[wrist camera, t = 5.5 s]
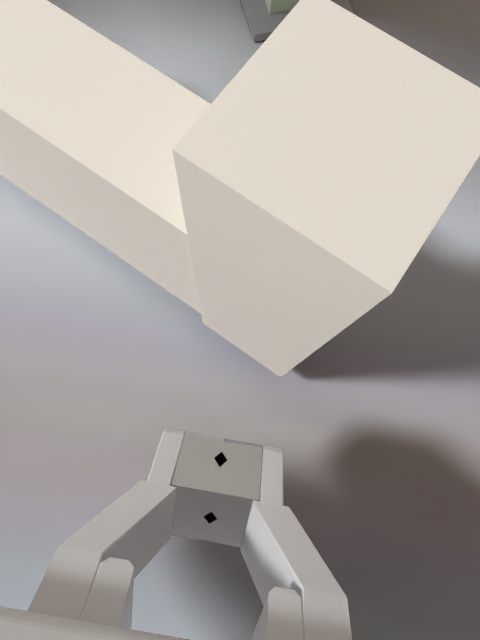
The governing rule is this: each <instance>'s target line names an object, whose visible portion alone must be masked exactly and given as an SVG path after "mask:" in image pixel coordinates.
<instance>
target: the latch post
mask: <svg viewBox="0 0 480 640" xmlns="http://www.w3.org/2000/svg"><path fill="white" fill-rule="evenodd" d="M240 1H241V4H242V7H243V10H244V13H245V16H246V19H247V22H248V25H249V28H250V31H251V34H252V37H253V40H254V42H258V41H263V40H266V39H267V38H268V37H269V36H270V35H271V34H272V32H273V31H274V30H275V29H276V28H277V27H278V25H279V24H280V23H281V22H282V21H283V20H284V18H285V17H286V16H287V15H288V14H289V13H290V11H291V10H292V9H293V8H294V7H295V6H296V4H297V3H298V2H299V1H300V0H240ZM331 1H332V2H334V3H336V4H337V5H339V6H341V7H343V8H344V9H346V10H348V11H349V12H351V13H353V14H354V15H355V13H354V11H353V8H352V6H351V3H350V1H349V0H331Z"/></svg>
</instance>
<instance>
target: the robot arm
mask: <svg viewBox="0 0 480 640" xmlns="http://www.w3.org/2000/svg"><path fill="white" fill-rule="evenodd" d="M171 535H172V536H179V537H185V538H192V539H199V540H206V541H210V542H215V543H220V544H225V545H230V546H235V547H239V548H240V550H241V553H242V555H243V558H244V560H245V563H246V565H247V567H248V570H249V572H250V575H251V577H252V579H253V582H254V584H255V587H256V589H257V592H258V594H259V596H260V599H261V601H262V604H263V606H264V607H263V610H262V612H261V615H260V618H259V620H258V623H257V625H256V628H255V631H254V633H253V636H252V639H251V640H352V634H351V626H350V617H349V609H348V600H347V597H346V595H345V594H344V592H343V590H342V589H341V587H340V586H339V584H338V583H337V581H336V579H335V578H334V576H333V575H332V573H331V572H330V570H329V568H328V567H327V565H326V564H325V562H324V560H323V559H322V557H321V556H320V554H319V553H318V551H317V549H316V548H315V546H314V545H313V543H312V542H311V540H310V538H309V537H308V535H307V534H306V532H305V531H304V529H303V527H302V526H301V524H300V523H299V521H298V520H297V518H296V516H295V515H294V513H293V512H292V510H291V509H290V507H287V506H284V497H283V450H282V449H281V448H276V447H270V446H264V445H263V446H262V445H259V444H253V443H247V442H241V441H235V440H229V439H221V438H216V437H211V436H206V435H201V434H196V433H191V432H187V431H186V432H185V431H180V430H175V429H170V428H165V430H164V432H163V434H162V437H161V440H160V443H159V446H158V449H157V452H156V455H155V458H154V461H153V464H152V467H151V470H150V473H149V476H148V479H147V481H140V482H138V483H137V484H136V485H135V486H133V487H132V488H131V489H129V490H128V491H127V492H126V493H124V494H123V495H122V496H121V497H119V498H118V499H117V500H116V501H114V502H113V503H112V504H111V505H109V506H108V507H107V508H106V509H104V510H103V511H102V512H100V513H99V514H98V515H97V516H95V517H94V518H93V519H92V520H90V521H89V522H88V523H87V524H85V525H84V526H83V527H82V528H80V529H79V530H78V531H77V532H75V533H74V534H73V535H71V536H70V537H69V538H68V539H66V540H65V541H64V542H63V543H61V544H60V545H59V546H58V548H57V550H56V552H55V554H54V556H53V559H52V561H51V563H50V565H49V567H48V569H47V571H46V573H45V575H44V578H43V580H42V582H41V584H40V586H39V588H38V590H37V592H36V594H35V597H34V599H33V601H32V603H31V605H30V607H29V609H28V611H24V610H18V609H13V608H7V607H1V606H0V640H188V639H183V638H177V637H171V636H166V635H160V634H154V633H149V632H143V631H137V630H132V629H131V622H132V602H133V583H134V578H135V577H136V576H137V575H138V574H139V573H140V572H141V571H142V569H143V568H144V567H145V566H146V565H147V564H148V563H149V562H150V560H151V559H152V558H153V557H154V556H155V555H156V554H157V553H158V552H159V550H160V549H161V548H162V547H163V546H164V545H165V544H166V543H167V541H168V540H169V539H170V538H171Z"/></svg>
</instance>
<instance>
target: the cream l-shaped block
mask: <svg viewBox="0 0 480 640" xmlns="http://www.w3.org/2000/svg"><path fill="white" fill-rule="evenodd" d="M479 155H480V88H479V87H477V86H476V85H474V84H472V83H471V82H469V81H467V80H466V79H464V78H462V77H460V76H459V75H457V74H455V73H454V72H452V71H450V70H448V69H447V68H445V67H443V66H442V65H440V64H438V63H436V62H435V61H433V60H431V59H430V58H428V57H426V56H425V55H423V54H421V53H419V52H418V51H416V50H414V49H413V48H411V47H409V46H407V45H406V44H404V43H402V42H401V41H399V40H397V39H395V38H394V37H392V36H390V35H389V34H387V33H385V32H384V31H382V30H380V29H378V28H377V27H375V26H373V25H372V24H370V23H368V22H366V21H365V20H363V19H361V18H360V17H358V16H356V15H354V14H353V13H351V12H349V11H348V10H346V9H344V8H343V7H341V6H339V5H337V4H336V3H334V2H332V1H331V0H300V1H299V2H298V3H297V4H296V6H295V7H294V8H293V9H292V10H291V11H290V13H289V14H288V15H287V16H286V17H285V18H284V20H283V21H282V22H281V23H280V24H279V25H278V27H277V28H276V29H275V30H274V31H273V32H272V34H271V35H270V36H269V37H268V38H267V39H266V41H265V42H264V43H263V44H262V45H261V46H260V48H259V49H258V50H257V51H256V52H255V53H254V55H253V56H252V57H251V58H250V59H249V60H248V62H247V63H246V64H245V65H244V66H243V67H242V69H241V70H240V71H239V72H238V73H237V74H236V76H235V77H234V78H233V79H232V80H231V81H230V83H229V84H228V85H227V86H226V87H225V88H224V90H223V91H222V92H221V93H220V94H219V95H218V97H217V98H216V99H215V100H214V101H213V102H212V104H210V103H208V102H207V101H205V100H204V99H202V98H201V97H199V96H197V95H196V94H194V93H193V92H191V91H189V90H188V89H186V88H185V87H183V86H182V85H180V84H178V83H177V82H175V81H174V80H172V79H171V78H169V77H167V76H166V75H164V74H163V73H161V72H159V71H158V70H156V69H155V68H153V67H152V66H150V65H148V64H147V63H145V62H144V61H142V60H141V59H139V58H137V57H136V56H134V55H133V54H131V53H130V52H128V51H126V50H125V49H123V48H122V47H120V46H118V45H117V44H115V43H114V42H112V41H111V40H109V39H107V38H106V37H104V36H103V35H101V34H100V33H98V32H96V31H95V30H93V29H92V28H90V27H89V26H87V25H85V24H84V23H82V22H81V21H79V20H77V19H76V18H74V17H73V16H71V15H70V14H68V13H66V12H65V11H63V10H62V9H60V8H59V7H57V6H55V5H54V4H52V3H51V2H49V1H47V0H0V175H2V176H3V177H5V178H6V179H7V180H9V181H10V182H12V183H13V184H15V185H16V186H18V187H19V188H20V189H22V190H23V191H25V192H26V193H28V194H29V195H30V196H32V197H33V198H35V199H36V200H38V201H39V202H41V203H42V204H43V205H45V206H46V207H48V208H49V209H51V210H52V211H54V212H55V213H56V214H58V215H59V216H61V217H62V218H64V219H65V220H66V221H68V222H69V223H71V224H72V225H74V226H75V227H77V228H78V229H79V230H81V231H82V232H84V233H85V234H87V235H88V236H90V237H91V238H92V239H94V240H95V241H97V242H98V243H100V244H101V245H102V246H104V247H105V248H107V249H108V250H110V251H111V252H113V253H114V254H115V255H117V256H118V257H120V258H121V259H123V260H124V261H126V262H127V263H128V264H130V265H131V266H133V267H134V268H136V269H137V270H138V271H140V272H141V273H143V274H144V275H146V276H147V277H149V278H150V279H151V280H153V281H154V282H156V283H157V284H159V285H160V286H162V287H163V288H164V289H166V290H167V291H169V292H170V293H172V294H173V295H174V296H176V297H177V298H179V299H180V300H182V301H183V302H185V303H186V304H187V305H189V306H190V307H192V308H193V309H195V310H196V311H198V312H199V313H200V314H201V316H202V321H203V324H205V325H206V326H208V327H209V328H210V329H212V330H213V331H215V332H216V333H218V334H219V335H220V336H222V337H223V338H225V339H226V340H228V341H229V342H231V343H232V344H233V345H235V346H236V347H238V348H239V349H241V350H242V351H243V352H245V353H246V354H248V355H249V356H251V357H252V358H253V359H255V360H256V361H258V362H259V363H261V364H262V365H264V366H265V367H266V368H268V369H269V370H271V371H272V372H274V373H275V374H276V375H278V376H279V377H281V376H283V375H284V374H285V373H287V372H288V371H289V370H291V369H292V368H293V367H295V366H296V365H297V364H299V363H300V362H301V361H303V360H304V359H305V358H307V357H308V356H309V355H311V354H312V353H313V352H315V351H316V350H317V349H319V348H320V347H321V346H323V345H324V344H325V343H327V342H328V341H329V340H331V339H332V338H333V337H334V336H336V335H337V334H338V333H340V332H341V331H342V330H344V329H345V328H346V327H348V326H349V325H350V324H352V323H353V322H354V321H356V320H357V319H358V318H360V317H361V316H362V315H364V314H365V313H366V312H368V311H369V310H370V309H372V308H373V307H374V306H376V305H377V304H378V303H380V302H381V301H382V300H384V299H385V298H386V297H388V296H389V295H390V294H391V293H392V292H393V291H394V289H395V288H396V286H397V284H398V283H399V281H400V280H401V278H402V277H403V275H404V273H405V272H406V270H407V269H408V267H409V266H410V264H411V262H412V261H413V259H414V258H415V256H416V255H417V253H418V251H419V250H420V248H421V247H422V245H423V244H424V242H425V240H426V239H427V237H428V236H429V234H430V233H431V231H432V229H433V228H434V226H435V225H436V223H437V221H438V220H439V218H440V217H441V215H442V214H443V212H444V210H445V209H446V207H447V206H448V204H449V203H450V201H451V199H452V198H453V196H454V195H455V193H456V192H457V190H458V188H459V187H460V185H461V184H462V182H463V181H464V179H465V177H466V176H467V174H468V173H469V171H470V170H471V168H472V166H473V165H474V163H475V162H476V160H477V159H478V157H479Z"/></svg>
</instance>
